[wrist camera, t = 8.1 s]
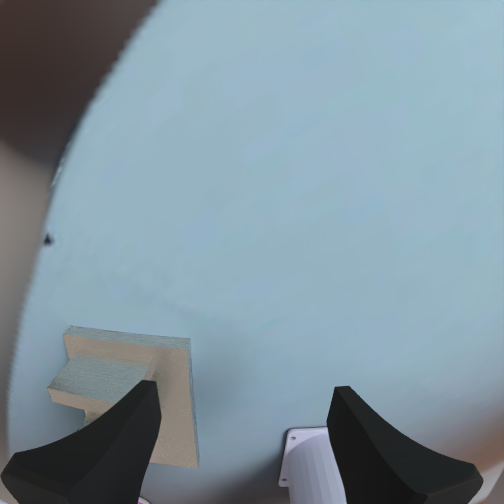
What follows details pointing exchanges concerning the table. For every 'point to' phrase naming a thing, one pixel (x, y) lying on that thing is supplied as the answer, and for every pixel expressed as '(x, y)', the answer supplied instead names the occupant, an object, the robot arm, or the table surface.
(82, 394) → the stand frame
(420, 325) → the table surface
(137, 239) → the table surface
